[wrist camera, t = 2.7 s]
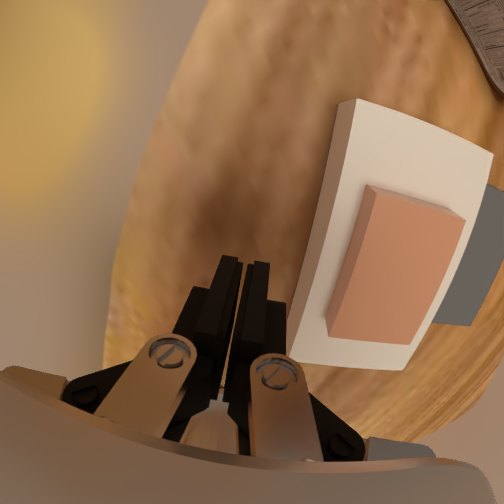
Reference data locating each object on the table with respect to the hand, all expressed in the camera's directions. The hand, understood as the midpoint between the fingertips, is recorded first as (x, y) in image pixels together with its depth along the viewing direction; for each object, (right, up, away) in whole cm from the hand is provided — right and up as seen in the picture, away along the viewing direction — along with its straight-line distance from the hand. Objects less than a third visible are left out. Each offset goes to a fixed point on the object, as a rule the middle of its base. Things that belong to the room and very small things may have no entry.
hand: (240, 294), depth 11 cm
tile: (+9, +1, +6) cm, 11 cm away
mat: (+20, +1, +11) cm, 22 cm away
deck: (+10, +3, +11) cm, 15 cm away
